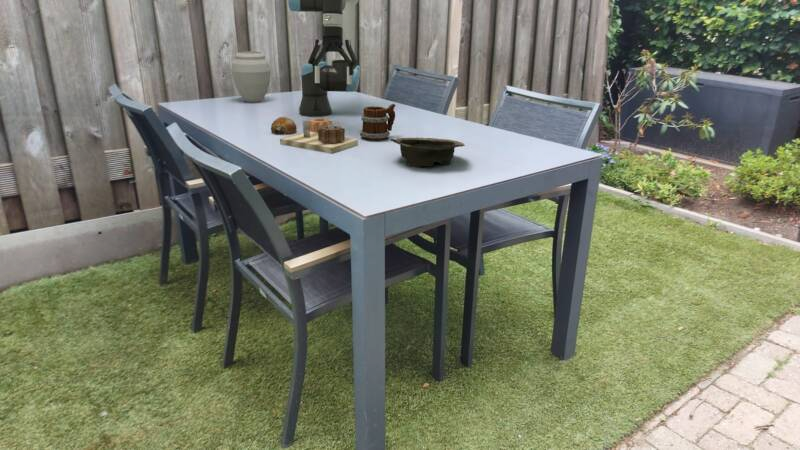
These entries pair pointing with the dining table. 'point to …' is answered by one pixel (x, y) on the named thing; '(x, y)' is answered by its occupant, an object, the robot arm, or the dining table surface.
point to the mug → (377, 123)
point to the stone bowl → (427, 150)
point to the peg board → (316, 143)
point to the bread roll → (283, 126)
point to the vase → (251, 75)
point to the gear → (318, 124)
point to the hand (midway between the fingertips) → (333, 83)
